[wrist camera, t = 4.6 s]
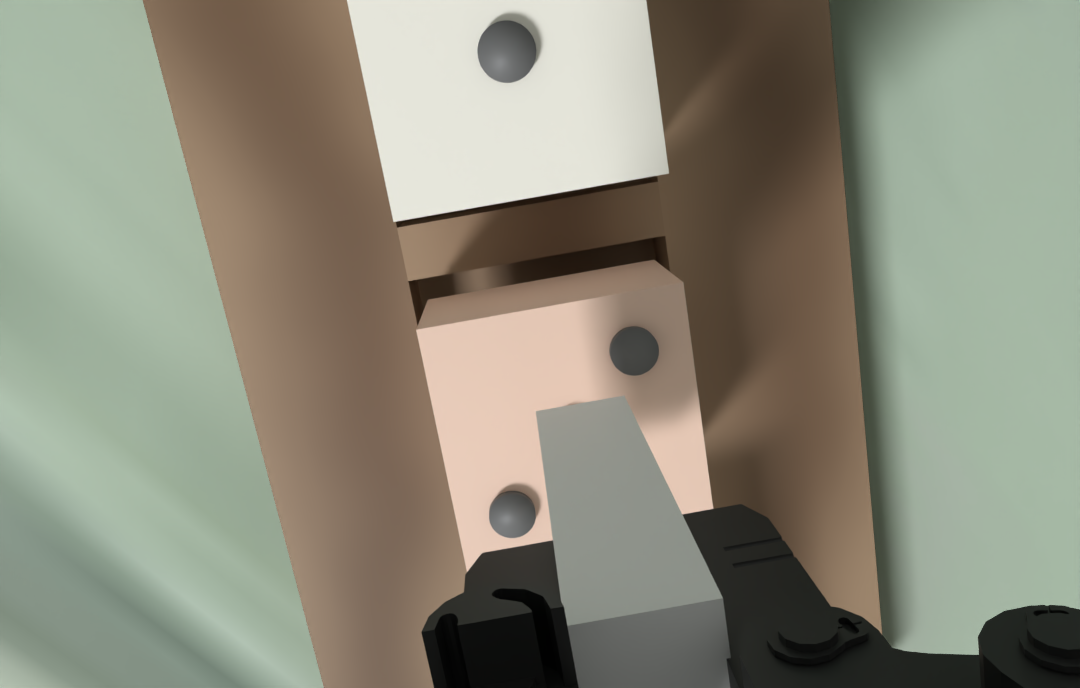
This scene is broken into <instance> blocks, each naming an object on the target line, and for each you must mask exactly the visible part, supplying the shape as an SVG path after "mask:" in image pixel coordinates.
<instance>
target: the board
mask: <svg viewBox="0 0 1080 688" xmlns="http://www.w3.org/2000/svg"><path fill="white" fill-rule="evenodd" d="M646 2H647V10H648V17H649V25H650V33H651V40H652V48H653V55H654V63H655V71H656V78H657V86H658V93H659V101H660V109H661V116H662V124H663V131H664V139H665V146H666V154H667V162H668V169H669V174H663V175H658V176H652V177H646V178H641V179H635V180H629V181H624V182H618V183H612V184H607V185H601V186H595V187H590V188H584V189H578V190H573V191H567V192H561V193H556V194H550V195H544V196H539V197H533V198H527V199H521V200H516V201H510V202H504V203H499V204H493V205H487V206H482V207H476V208H470V209H465V210H459V211H453V212H448V213H442V214H436V215H431V216H425V217H419V218H414V219H408V220H402V221H397V222H393V217H392V213H391V208H390V203H389V198H388V194H387V189H386V184H385V179H384V175H383V170H382V165H381V160H380V156H379V151H378V146H377V141H376V136H375V132H374V127H373V122H372V117H371V113H370V108H369V103H368V98H367V94H366V89H365V84H364V79H363V75H362V70H361V65H360V60H359V56H358V51H357V46H356V41H355V37H354V32H353V27H352V22H351V18H350V13H349V8H348V3H347V0H143V3H144V7H145V10H146V14H147V18H148V22H149V25H150V29H151V33H152V37H153V41H154V44H155V48H156V52H157V56H158V60H159V63H160V67H161V71H162V75H163V79H164V82H165V86H166V90H167V94H168V98H169V101H170V105H171V109H172V113H173V117H174V120H175V124H176V128H177V132H178V136H179V139H180V143H181V147H182V151H183V154H184V158H185V162H186V166H187V170H188V173H189V177H190V181H191V185H192V189H193V192H194V196H195V200H196V204H197V208H198V211H199V215H200V219H201V223H202V227H203V230H204V234H205V238H206V242H207V246H208V249H209V253H210V257H211V261H212V264H213V268H214V272H215V276H216V280H217V283H218V287H219V291H220V295H221V299H222V302H223V306H224V310H225V314H226V318H227V321H228V325H229V329H230V333H231V337H232V340H233V344H234V348H235V352H236V356H237V359H238V363H239V367H240V371H241V375H242V378H243V382H244V386H245V390H246V393H247V397H248V401H249V405H250V409H251V412H252V416H253V420H254V424H255V428H256V431H257V435H258V439H259V443H260V447H261V450H262V454H263V458H264V462H265V466H266V469H267V473H268V477H269V481H270V485H271V488H272V492H273V496H274V500H275V504H276V507H277V511H278V515H279V519H280V522H281V526H282V530H283V534H284V538H285V541H286V545H287V549H288V553H289V557H290V560H291V564H292V568H293V572H294V576H295V579H296V583H297V587H298V591H299V595H300V598H301V602H302V606H303V610H304V614H305V617H306V621H307V625H308V629H309V633H310V636H311V640H312V644H313V648H314V651H315V655H316V659H317V663H318V667H319V670H320V674H321V678H322V682H323V686H324V688H434V686H433V681H432V677H431V673H430V668H429V664H428V659H427V655H426V651H425V646H424V642H423V637H422V633H421V632H422V629H423V627H424V625H425V623H426V621H427V619H428V617H429V616H430V615H431V614H432V613H433V612H434V611H435V610H436V609H438V608H439V607H440V606H441V605H442V604H443V603H444V602H446V601H448V600H450V599H452V598H454V597H456V596H457V595H459V594H461V593H463V592H464V584H465V574H466V573H467V569H466V565H465V560H464V555H463V550H462V546H461V541H460V536H459V531H458V527H457V522H456V517H455V512H454V508H453V503H452V498H451V493H450V489H449V484H448V479H447V474H446V470H445V465H444V460H443V455H442V451H441V446H440V441H439V436H438V432H437V427H436V422H435V417H434V412H433V408H432V403H431V398H430V393H429V389H428V384H427V379H426V374H425V370H424V365H423V360H422V355H421V351H420V346H419V341H418V336H417V332H416V329H417V326H418V324H419V321H420V319H421V316H422V314H423V311H424V308H425V306H426V303H427V301H428V300H429V299H435V298H440V297H446V296H452V295H457V294H463V293H469V292H474V291H480V290H485V289H491V288H497V287H502V286H508V285H514V284H519V283H525V282H531V281H536V280H542V279H547V278H553V277H559V276H564V275H570V274H576V273H581V272H587V271H593V270H598V269H604V268H609V267H615V266H621V265H626V264H632V263H638V262H643V261H649V260H655V261H657V262H658V263H659V264H660V265H662V266H663V267H664V268H666V269H667V270H668V271H669V272H671V273H672V274H673V275H675V276H676V277H677V278H679V279H680V280H681V281H682V282H683V283H684V291H685V298H686V306H687V313H688V321H689V329H690V336H691V344H692V351H693V359H694V367H695V374H696V382H697V389H698V397H699V404H700V412H701V420H702V427H703V435H704V442H705V450H706V458H707V465H708V473H709V480H710V488H711V496H712V503H713V509H715V508H721V507H727V506H732V505H738V504H742V505H744V506H746V507H748V508H750V509H752V510H754V511H756V512H758V513H760V514H762V515H764V516H766V517H768V518H769V520H770V521H771V522H772V524H773V525H774V527H775V528H776V530H777V531H778V532H779V534H780V535H781V537H782V540H783V541H785V542H786V544H787V545H788V546H789V548H790V549H791V551H792V552H793V555H794V557H796V558H797V559H798V561H799V562H800V563H801V565H802V566H803V568H804V569H805V570H806V572H807V573H808V575H809V576H810V578H811V579H812V580H813V582H814V583H815V585H816V586H817V587H818V589H819V590H820V592H821V593H822V594H823V596H824V597H825V599H826V600H827V601H828V603H829V604H830V606H831V607H838V608H842V609H844V610H847V611H849V612H852V613H854V614H857V615H859V616H862V617H863V618H865V619H866V620H867V621H868V622H869V623H871V624H872V625H873V626H874V627H875V628H877V629H878V630H879V631H880V633H881V634H882V627H881V615H880V603H879V591H878V579H877V567H876V555H875V543H874V531H873V520H872V508H871V496H870V484H869V472H868V460H867V448H866V436H865V424H864V412H863V400H862V389H861V377H860V365H859V353H858V341H857V329H856V317H855V305H854V293H853V281H852V269H851V257H850V246H849V234H848V222H847V210H846V198H845V186H844V174H843V162H842V150H841V138H840V126H839V115H838V103H837V91H836V79H835V67H834V55H833V43H832V31H831V19H830V7H829V0H646Z"/></svg>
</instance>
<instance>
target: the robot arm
mask: <svg viewBox="0 0 1080 688" xmlns="http://www.w3.org/2000/svg"><path fill="white" fill-rule="evenodd" d="M536 417H537V424H538V432H539V439H540V447H541V454H542V462H543V469H544V477H545V484H546V492H547V499H548V507H549V514H550V522H551V529H552V537H553V540H552V541H546V542H541V543H535V544H529V545H524V546H518V547H512V548H507V549H501V550H496V551H490V552H484V553H482V554H481V555H480V556H479V557H478V559H477V560H476V561H475V563H474V564H473V565H472V566H471V568H470V569H469V570H468V572H467V573H466V574H465V584H464V592H463V593H461V594H459V595H457V596H456V597H454V598H452V599H450V600H448V601H446V602H444V603H443V604H442V605H441V606H440V607H439V608H438V609H436V610H435V611H434V612H433V613H432V614H431V615H430V616H429V617H428V619H427V621H426V623H425V625H424V627H423V629H422V632H421V633H422V637H423V642H424V646H425V651H426V655H427V659H428V664H429V668H430V673H431V677H432V681H433V686H434V688H1080V610H1079V609H1074V608H1069V607H1066V606H1057V605H1049V606H1045V605H1038V606H1027V607H1022V608H1017V609H1012V610H1007V611H1004V612H1002V613H1000V614H998V615H997V616H995V617H993V618H992V619H990V620H988V621H986V622H985V624H984V626H983V628H982V630H981V632H980V634H979V636H978V644H979V655H959V654H928V653H918V652H907V651H903V650H898V649H894V648H892V647H891V646H890V644H889V643H888V642H887V641H886V639H885V638H884V637H883V635H882V634H881V633H880V631H879V630H878V629H877V628H875V627H874V626H873V625H872V624H871V623H869V622H868V621H867V620H866V619H865V618H863V617H862V616H859V615H857V614H854V613H852V612H849V611H847V610H844V609H842V608H838V607H831V606H830V604H829V603H828V601H827V600H826V599H825V597H824V596H823V594H822V593H821V592H820V590H819V589H818V587H817V586H816V585H815V583H814V582H813V580H812V579H811V578H810V576H809V575H808V573H807V572H806V570H805V569H804V568H803V566H802V565H801V563H800V562H799V561H798V559H797V558H796V557H794V555H793V552H792V551H791V549H790V548H789V546H788V545H787V544H786V542H785V541H783V540H782V537H781V535H780V534H779V532H778V531H777V530H776V528H775V527H774V525H773V524H772V522H771V521H770V520H769V518H768V517H766V516H764V515H762V514H760V513H758V512H756V511H754V510H752V509H750V508H748V507H746V506H744V505H742V504H738V505H732V506H727V507H721V508H715V509H710V510H704V511H699V512H693V513H687V514H682V513H681V511H680V509H679V507H678V505H677V503H676V501H675V499H674V497H673V494H672V492H671V490H670V488H669V486H668V484H667V482H666V480H665V478H664V476H663V474H662V472H661V470H660V468H659V466H658V464H657V462H656V460H655V457H654V455H653V453H652V451H651V449H650V447H649V445H648V443H647V441H646V439H645V437H644V435H643V433H642V431H641V429H640V427H639V425H638V423H637V420H636V418H635V416H634V414H633V412H632V410H631V408H630V406H629V404H628V402H627V400H626V398H625V396H619V397H613V398H607V399H602V400H596V401H590V402H585V403H579V404H574V405H568V406H562V407H557V408H551V409H545V410H540V411H536Z"/></svg>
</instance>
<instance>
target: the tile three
mask: <svg viewBox="0 0 1080 688" xmlns="http://www.w3.org/2000/svg"><path fill="white" fill-rule="evenodd" d="M416 332H417V336H418V341H419V346H420V351H421V355H422V360H423V365H424V370H425V374H426V379H427V384H428V389H429V393H430V398H431V403H432V408H433V412H434V417H435V422H436V427H437V432H438V436H439V441H440V446H441V451H442V455H443V460H444V465H445V470H446V474H447V479H448V484H449V489H450V493H451V498H452V503H453V508H454V512H455V517H456V522H457V527H458V531H459V536H460V541H461V546H462V550H463V555H464V560H465V565H466V569H467V572H468V570H469V569H470V568H471V566H472V565H473V564H474V563H475V561H476V560H477V559H478V557H479V556H480V555H481V554H482V553H484V552H490V551H496V550H501V549H507V548H512V547H518V546H524V545H529V544H535V543H541V542H546V541H552V540H553V537H552V529H551V522H550V514H549V507H548V499H547V492H546V484H545V477H544V469H543V462H542V454H541V447H540V439H539V432H538V424H537V417H536V411H540V410H545V409H551V408H557V407H562V406H568V405H574V404H579V403H585V402H590V401H596V400H602V399H607V398H613V397H619V396H625V398H626V400H627V402H628V404H629V406H630V408H631V410H632V412H633V414H634V416H635V418H636V420H637V423H638V425H639V427H640V429H641V431H642V433H643V435H644V437H645V439H646V441H647V443H648V445H649V447H650V449H651V451H652V453H653V455H654V457H655V460H656V462H657V464H658V466H659V468H660V470H661V472H662V474H663V476H664V478H665V480H666V482H667V484H668V486H669V488H670V490H671V492H672V494H673V497H674V499H675V501H676V503H677V505H678V507H679V509H680V511H681V513H682V514H687V513H693V512H699V511H704V510H710V509H713V503H712V496H711V488H710V480H709V473H708V465H707V458H706V450H705V442H704V435H703V427H702V420H701V412H700V404H699V397H698V389H697V382H696V374H695V367H694V359H693V351H692V344H691V336H690V329H689V321H688V313H687V306H686V298H685V291H684V283H683V282H682V281H681V280H680V279H679V278H677V277H676V276H675V275H673V274H672V273H671V272H669V271H668V270H667V269H666V268H664V267H663V266H662V265H660V264H659V263H658V262H657V261H655V260H649V261H643V262H638V263H632V264H626V265H621V266H615V267H609V268H604V269H598V270H593V271H587V272H581V273H576V274H570V275H564V276H559V277H553V278H547V279H542V280H536V281H531V282H525V283H519V284H514V285H508V286H502V287H497V288H491V289H485V290H480V291H474V292H469V293H463V294H457V295H452V296H446V297H440V298H435V299H429V300H428V301H427V303H426V306H425V308H424V311H423V314H422V316H421V319H420V321H419V324H418V326H417V329H416Z"/></svg>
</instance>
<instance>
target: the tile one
mask: <svg viewBox="0 0 1080 688" xmlns="http://www.w3.org/2000/svg"><path fill="white" fill-rule="evenodd" d="M347 3H348V8H349V13H350V18H351V22H352V27H353V32H354V37H355V41H356V46H357V51H358V56H359V60H360V65H361V70H362V75H363V79H364V84H365V89H366V94H367V98H368V103H369V108H370V113H371V117H372V122H373V127H374V132H375V136H376V141H377V146H378V151H379V156H380V160H381V165H382V170H383V175H384V179H385V184H386V189H387V194H388V198H389V203H390V208H391V213H392V217H393V222H397V221H402V220H408V219H414V218H419V217H425V216H431V215H436V214H442V213H448V212H453V211H459V210H465V209H470V208H476V207H482V206H487V205H493V204H499V203H504V202H510V201H516V200H521V199H527V198H533V197H539V196H544V195H550V194H556V193H561V192H567V191H573V190H578V189H584V188H590V187H595V186H601V185H607V184H612V183H618V182H624V181H629V180H635V179H641V178H646V177H652V176H658V175H663V174H669V169H668V162H667V154H666V146H665V139H664V131H663V124H662V116H661V109H660V101H659V93H658V86H657V78H656V71H655V63H654V55H653V48H652V40H651V33H650V25H649V17H648V10H647V2H646V0H347Z"/></svg>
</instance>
